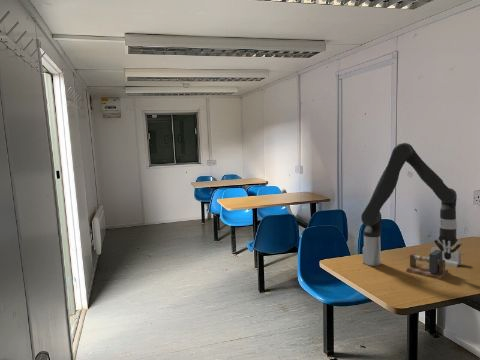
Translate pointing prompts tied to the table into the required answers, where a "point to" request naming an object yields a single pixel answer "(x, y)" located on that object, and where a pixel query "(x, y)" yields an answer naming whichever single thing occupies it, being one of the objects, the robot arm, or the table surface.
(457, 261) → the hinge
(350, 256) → the table surface
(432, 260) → the collar
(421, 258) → the pipe stand
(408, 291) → the table surface
